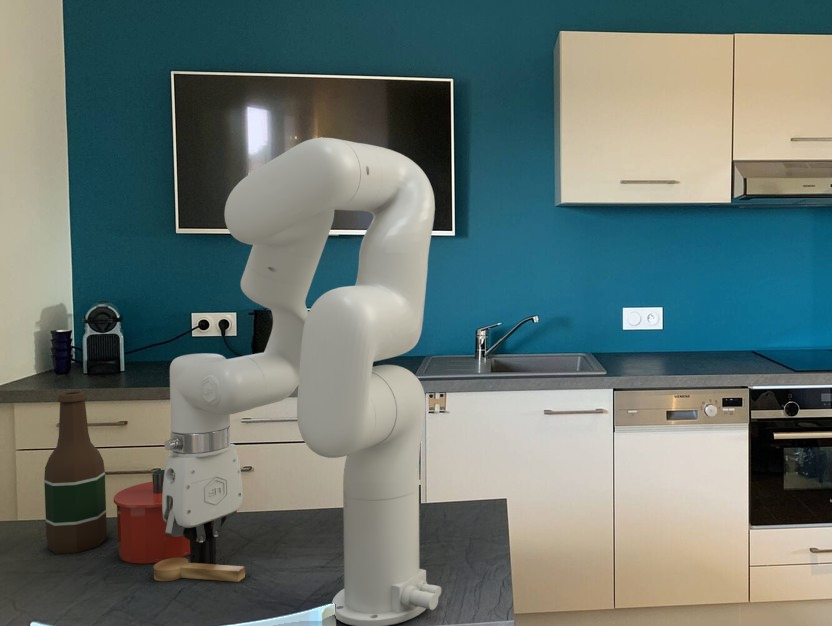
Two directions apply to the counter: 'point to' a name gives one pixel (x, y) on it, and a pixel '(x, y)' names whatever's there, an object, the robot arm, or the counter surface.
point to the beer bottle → (74, 483)
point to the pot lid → (143, 493)
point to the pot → (147, 536)
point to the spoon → (196, 571)
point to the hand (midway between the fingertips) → (203, 564)
